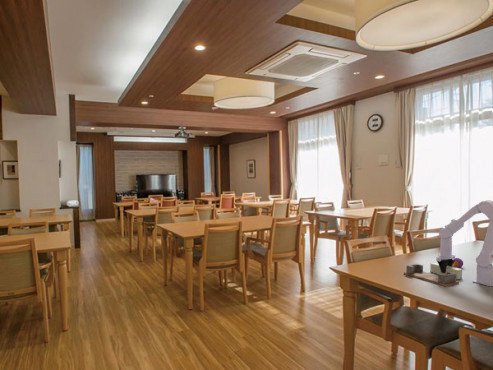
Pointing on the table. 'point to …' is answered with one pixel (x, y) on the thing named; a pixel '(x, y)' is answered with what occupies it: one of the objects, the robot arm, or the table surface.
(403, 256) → the table surface
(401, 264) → the table surface
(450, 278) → the cradle
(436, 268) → the slat
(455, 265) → the brown piece
